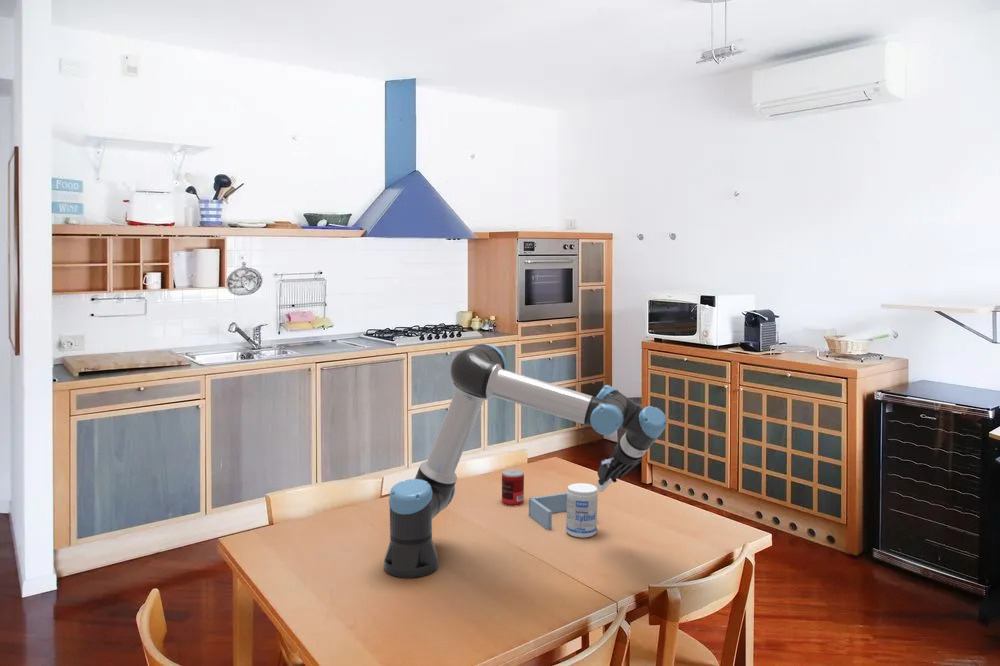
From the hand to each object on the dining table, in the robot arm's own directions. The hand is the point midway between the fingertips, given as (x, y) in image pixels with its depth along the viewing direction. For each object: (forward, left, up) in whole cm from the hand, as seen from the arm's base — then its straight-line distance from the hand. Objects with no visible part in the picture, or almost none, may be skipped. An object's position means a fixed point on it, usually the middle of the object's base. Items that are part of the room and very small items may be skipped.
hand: (599, 487), depth 223 cm
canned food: (+31, +32, -18) cm, 48 cm away
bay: (+19, +13, -18) cm, 29 cm away
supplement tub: (+8, +6, -18) cm, 21 cm away
